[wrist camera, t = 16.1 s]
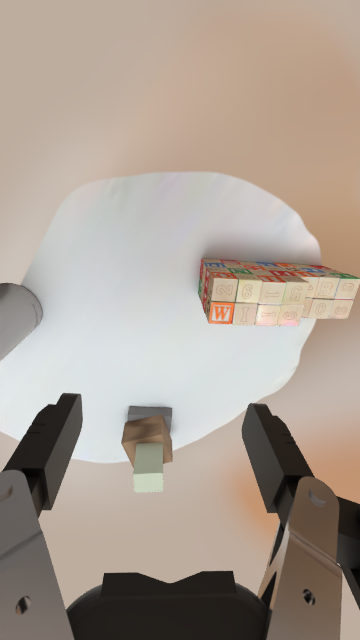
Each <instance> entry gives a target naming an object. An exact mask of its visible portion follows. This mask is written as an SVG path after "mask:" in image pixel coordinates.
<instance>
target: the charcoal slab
mask: <svg viewBox="0 0 360 640" xmlns="http://www.w3.org/2000/svg"><path fill="white" fill-rule="evenodd" d="M161 414H162V415H163V418H164V420H165V423H166V426H167V429H168V431H169V434H170V427H171V419H172V408H160V407H138V406H130V407H129V413H128V422H130V421H134V420H139V419H143V418H148V417H152V416H156V415H161Z"/></svg>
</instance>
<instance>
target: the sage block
mask: <svg viewBox="0 0 360 640" xmlns="http://www.w3.org/2000/svg"><path fill="white" fill-rule="evenodd" d="M133 477H134V489H135V493H136V492H137V493H138V492H156V491H163V443H137V445H136V454H135V463H134V472H133Z"/></svg>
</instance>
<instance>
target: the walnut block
mask: <svg viewBox="0 0 360 640" xmlns="http://www.w3.org/2000/svg"><path fill="white" fill-rule="evenodd" d="M137 443H163V463H168V462H172V439H171V437H170V434H169V431H168V429H167V426H166V423H165V420H164V418H163V415H162V414H161V415H156V416H152V417H148V418H143V419H139V420H134V421H130V422H125V426H124V431H123V437H122V442H121V444H122V446H123V448H124V450H125V452H126V454H127V456H128V458H129V460H130V462H131V464H132V466H133V468H134V463H135V454H136V445H137Z"/></svg>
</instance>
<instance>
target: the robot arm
mask: <svg viewBox="0 0 360 640" xmlns="http://www.w3.org/2000/svg"><path fill="white" fill-rule="evenodd" d="M41 319H42V309H41V305H40V303H39V301H38V300H37V298H36V297H35V296H34V295H33V294H32V293H31V292H30V291H29V290H27V289H26V288H24V287H22V286H19V285H16V284H13V283H1V284H0V361H1V360H2V359H3V358H4V357H5V356H7V355H8V354H9V353H10V352H11V351H12V350H13V349H14V348H15V347H16V346H17V345H18V344H19V343H20V342H21V341H22V340H23V339H25V338H26V337H27V336H28V335H29V334H30V333H31V332H32V331H33V330H34V329H35V328H36V327H37V326H38V325H39V323H40V322H41ZM82 421H83V417H82V400H81V394H73V393H63V394H62V395H61V397H60V398H59V400H58V402H57V404H56V405H52V404H48V405H47V406H46V407H45V408H44V409H42V410H41V411H40V412H39V413H38V414H37V416H36V417H35V419H34V421H33V422H32V425H30V427H29V429H28V430H27V433H26V434H25V435H24V437H23V439H22V440H21V442H20V443H19V445H18V447H17V448H16V450H15V452H14V453H13V455H12V457H11V458H10V460H9V461H8V463H7V465H6V466H5V468H4V469H3V471H2V472H1V473H0V640H340V624H341V599H342V571H343V573H344V575H345V578H346V580H347V582H348V585H349V587H350V589H351V591H352V594H353V596H354V598H355V600H356V602H357V605H358V607H359V609H360V504H358V503H355V502H352V501H349V500H346V499H343V498H340V497H338V496H336V495H335V494H334V492H333V491H332V490H331V489H330V487H328V486H327V485H326V484H325V483H324V482H322V481H320V480H319V479H317V478H315V477H314V475H313V473H312V471H311V469H310V468H309V466H308V464H307V462H306V461H305V459H304V457H303V455H302V453H301V451H300V450H299V448H298V446H297V445H296V442H295V441H294V439H293V437H292V436H291V433H290V431H289V430H288V428H287V426H286V424H285V423H284V422H283V421H282V420H281V419H280V418H278V416H272V414H271V412H270V410H269V408H268V406H267V405H266V404H256V403H250V404H249V405H248V408H247V412H246V415H245V418H244V422H243V425H242V438H243V441H244V444H245V447H246V450H247V453H248V456H249V459H250V462H251V465H252V468H253V471H254V474H255V477H256V480H257V483H258V486H259V489H260V492H261V495H262V498H263V501H264V504H265V507H266V510H267V513H277V514H278V516H279V519H280V521H279V524H278V527H277V531H276V535H275V538H274V542H273V546H272V549H271V553H270V557H269V561H268V564H267V568H266V571H265V575H264V578H263V580H262V583H261V586H260V588H259V591H258V595H257V596H256V595H255V594H254V593H253V592H251V591H250V590H249V589H247V588H245V587H243V586H242V585H240V584H238V583H235V580H234V575H233V571H202V572H200V573H197V574H195V575H192V576H189V577H187V578H185V579H182V580H180V581H177V582H174V583H166V582H163V581H159V580H157V579H154V578H151V577H148V576H146V575H143V574H140V573H104V577H103V584H102V585H99V586H97V587H95V588H93V589H91V590H89V591H87V592H86V593H84V594H83V595H82V596H80V597H79V598H78V599H77V600H75V601H74V602H73V603H72V604H71V605H70V606H69V607H68V608H67V609H65V606H64V603H63V600H62V596H61V593H60V589H59V586H58V582H57V579H56V576H55V572H54V569H53V565H52V562H51V558H50V555H49V551H48V548H47V545H46V541H45V538H44V535H43V532H42V531H41V528H40V524H39V521H38V518H39V516H40V513H41V511H42V510H51V509H52V507H53V504H54V501H55V499H56V496H57V493H58V490H59V488H60V485H61V483H62V480H63V477H64V474H65V472H66V469H67V467H68V464H69V461H70V459H71V456H72V453H73V451H74V448H75V445H76V442H77V440H78V437H79V434H80V432H81V428H82ZM337 563H339V564H340V566H339V565H337Z"/></svg>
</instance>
